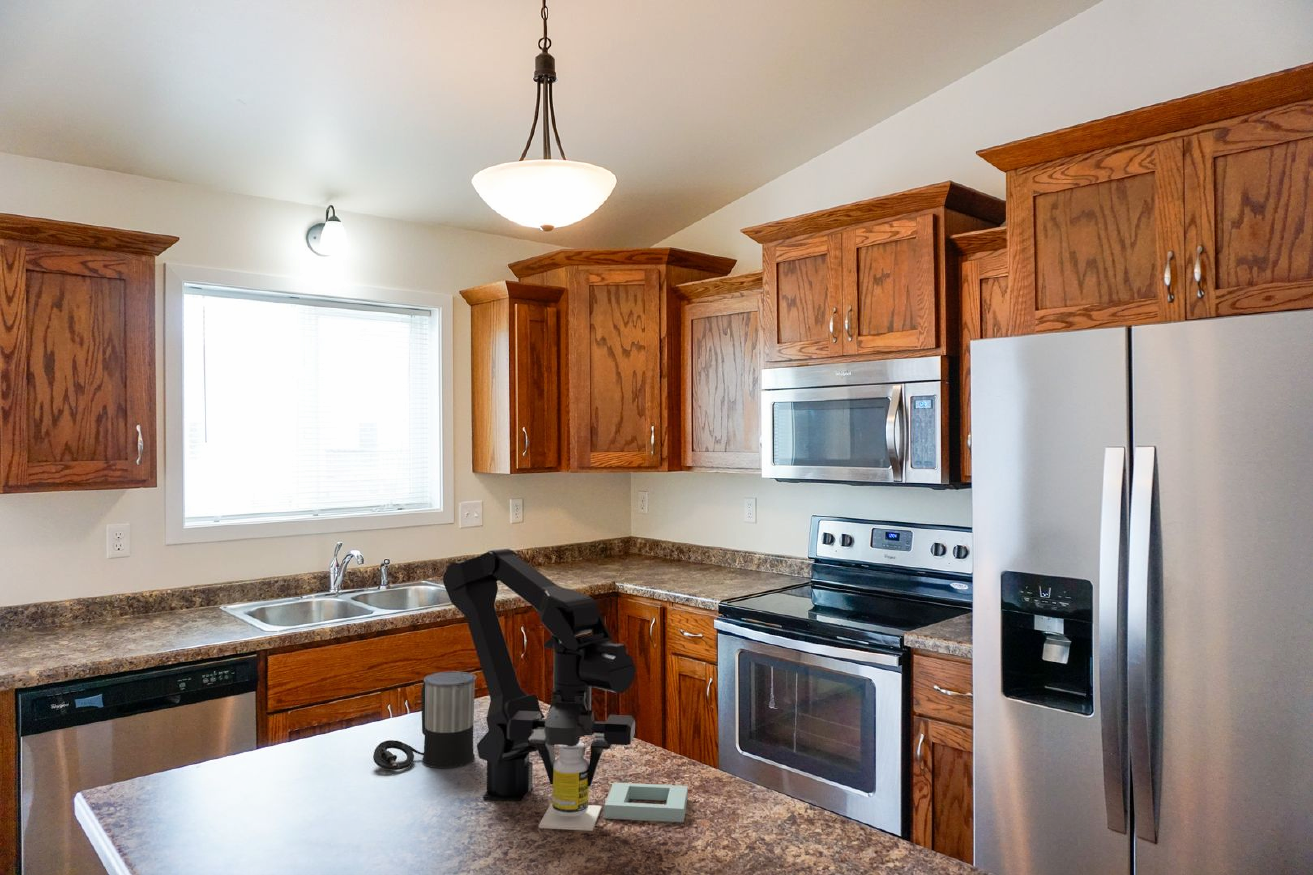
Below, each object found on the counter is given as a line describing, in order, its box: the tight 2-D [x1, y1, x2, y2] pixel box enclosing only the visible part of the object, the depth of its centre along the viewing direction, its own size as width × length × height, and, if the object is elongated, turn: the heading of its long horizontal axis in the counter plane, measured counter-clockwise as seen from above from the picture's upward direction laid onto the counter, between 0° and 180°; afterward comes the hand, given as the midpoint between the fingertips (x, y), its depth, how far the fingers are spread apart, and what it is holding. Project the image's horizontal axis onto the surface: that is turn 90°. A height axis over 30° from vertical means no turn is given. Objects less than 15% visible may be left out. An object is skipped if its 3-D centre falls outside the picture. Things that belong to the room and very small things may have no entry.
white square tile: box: [538, 803, 603, 832], centre depth 129 cm, size 8×8×1 cm
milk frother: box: [372, 670, 477, 771], centre depth 152 cm, size 14×16×15 cm
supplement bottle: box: [552, 741, 590, 816], centre depth 130 cm, size 5×5×10 cm
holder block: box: [603, 781, 689, 823], centre depth 133 cm, size 12×9×2 cm
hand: (570, 784), depth 130 cm, fingers closed on supplement bottle, 5 cm apart
